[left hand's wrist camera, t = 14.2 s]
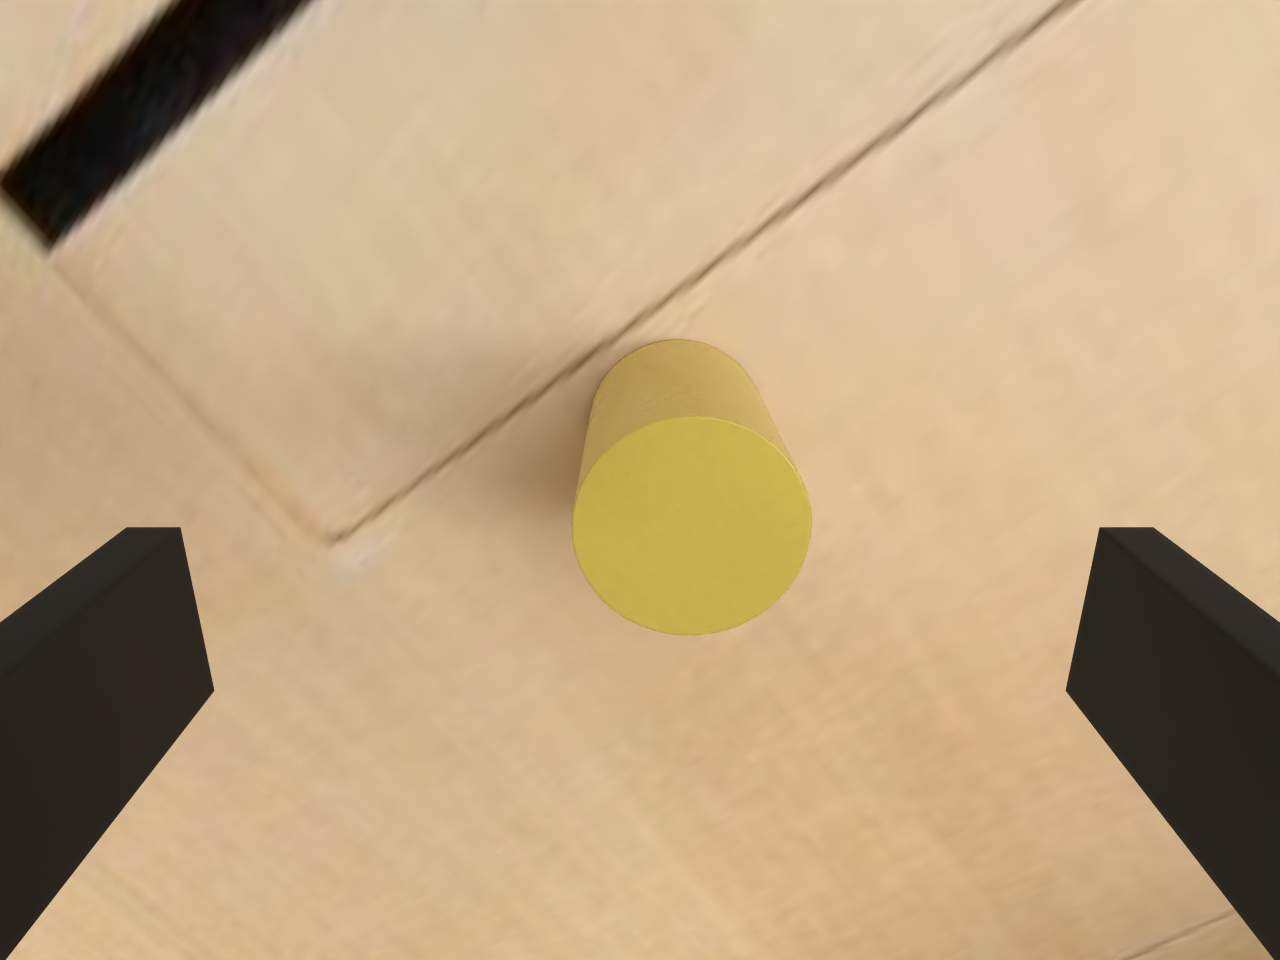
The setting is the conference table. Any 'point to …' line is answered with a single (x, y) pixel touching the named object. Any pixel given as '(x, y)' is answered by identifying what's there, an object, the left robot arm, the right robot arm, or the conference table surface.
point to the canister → (687, 494)
